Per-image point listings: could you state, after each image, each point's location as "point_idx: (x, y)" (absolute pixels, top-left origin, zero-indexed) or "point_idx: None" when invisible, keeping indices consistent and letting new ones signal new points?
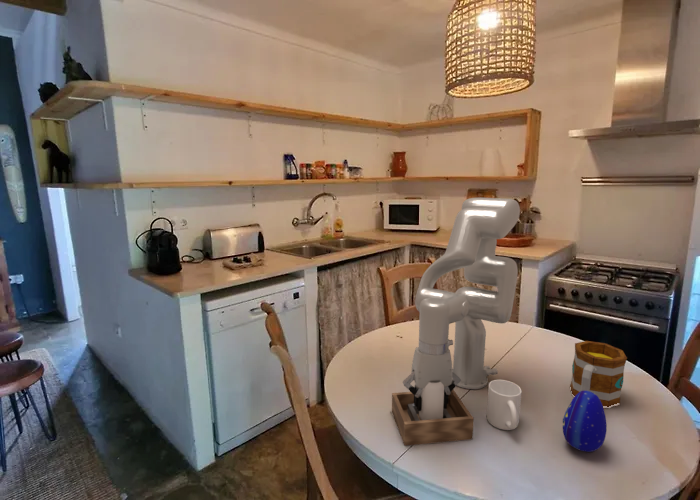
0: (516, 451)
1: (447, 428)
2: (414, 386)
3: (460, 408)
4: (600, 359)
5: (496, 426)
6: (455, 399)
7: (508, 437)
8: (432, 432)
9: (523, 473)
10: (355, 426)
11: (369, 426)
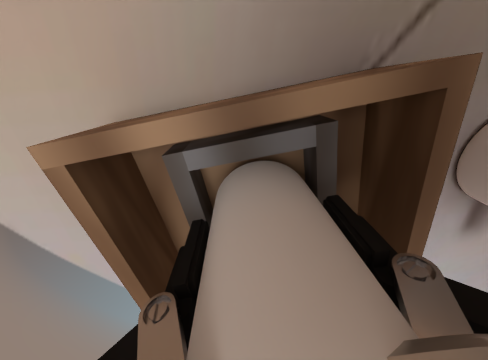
0: (438, 258)
1: None
2: (140, 356)
3: (398, 216)
4: None
5: (464, 191)
6: (417, 166)
7: (459, 219)
8: None
9: None
10: (12, 210)
11: (58, 207)
